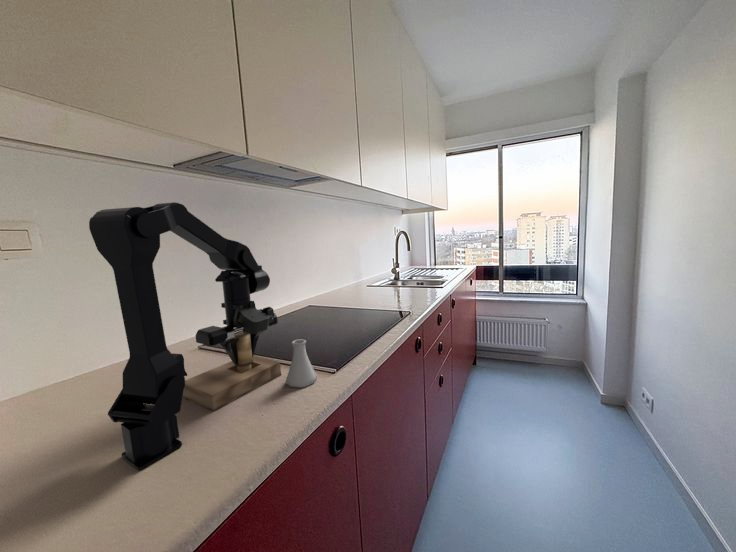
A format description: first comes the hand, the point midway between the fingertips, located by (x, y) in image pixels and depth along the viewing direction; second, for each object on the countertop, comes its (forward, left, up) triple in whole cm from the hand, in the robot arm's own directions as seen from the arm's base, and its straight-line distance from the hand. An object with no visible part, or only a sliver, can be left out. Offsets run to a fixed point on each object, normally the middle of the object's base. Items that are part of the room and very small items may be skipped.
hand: (243, 360), depth 74 cm
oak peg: (0, 0, -4) cm, 4 cm away
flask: (+6, -13, -5) cm, 15 cm away
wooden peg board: (-3, 0, -5) cm, 6 cm away
